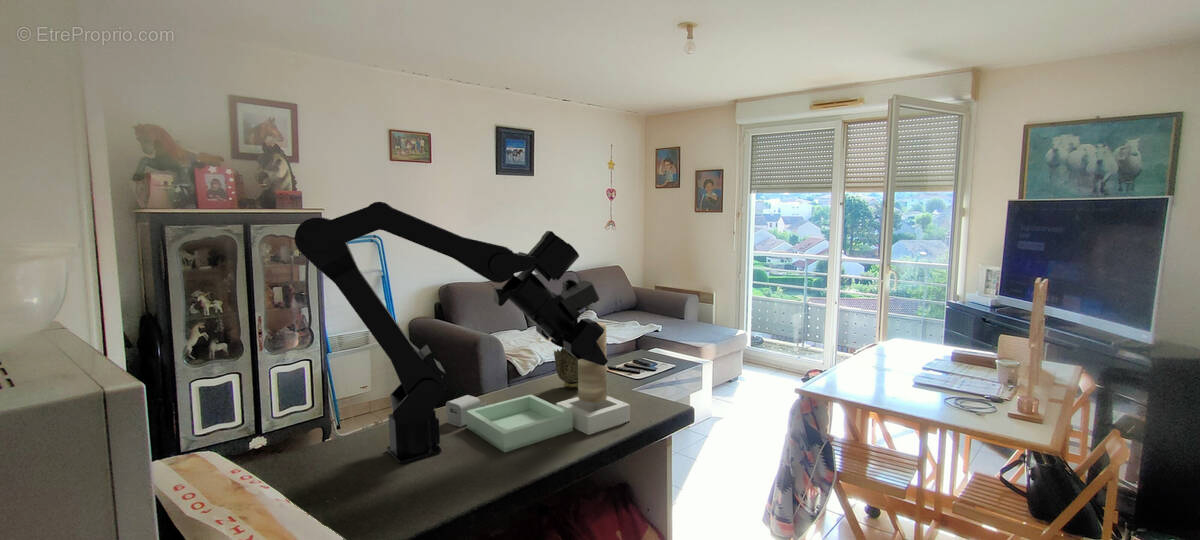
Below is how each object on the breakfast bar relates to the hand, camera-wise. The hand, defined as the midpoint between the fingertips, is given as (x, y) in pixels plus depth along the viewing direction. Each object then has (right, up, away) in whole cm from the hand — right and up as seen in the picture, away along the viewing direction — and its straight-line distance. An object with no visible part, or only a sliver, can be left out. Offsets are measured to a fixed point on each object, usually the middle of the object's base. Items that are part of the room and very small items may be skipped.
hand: (599, 359), depth 98 cm
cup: (-6, -9, +19) cm, 22 cm away
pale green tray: (-14, -11, -3) cm, 18 cm away
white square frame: (-1, -11, +1) cm, 11 cm away
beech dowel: (-1, -7, 0) cm, 7 cm away
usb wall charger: (-23, -11, +2) cm, 26 cm away
